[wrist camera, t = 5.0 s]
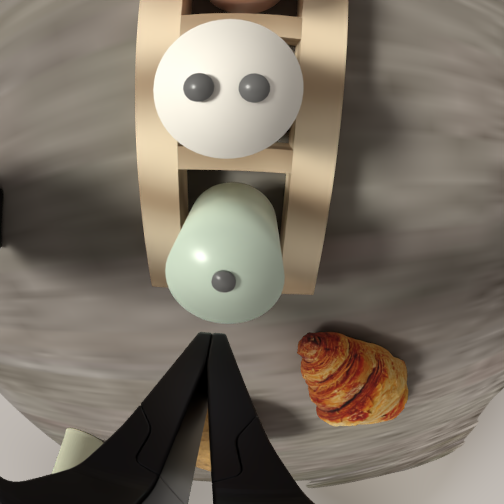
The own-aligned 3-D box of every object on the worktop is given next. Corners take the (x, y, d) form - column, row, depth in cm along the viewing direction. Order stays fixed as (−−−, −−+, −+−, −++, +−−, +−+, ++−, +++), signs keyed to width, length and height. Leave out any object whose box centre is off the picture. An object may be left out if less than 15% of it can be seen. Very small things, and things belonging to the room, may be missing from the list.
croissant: (401, 371, 34) (443, 398, 27) (353, 428, 33) (389, 462, 26) (317, 281, 26) (378, 312, 19) (243, 367, 25) (282, 424, 18)
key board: (308, 274, 22) (313, 294, 20) (160, 267, 22) (152, 286, 20) (336, -64, 9) (346, -79, 7) (164, -67, 9) (154, -82, 7)
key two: (283, 139, 15) (298, 164, 10) (187, 136, 15) (152, 160, 10) (289, 47, 12) (308, 22, 7) (189, 45, 12) (154, 22, 7)
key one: (272, 263, 18) (278, 328, 14) (191, 259, 18) (171, 322, 13) (280, 184, 16) (291, 230, 11) (188, 181, 16) (158, 225, 11)
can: (67, 422, 40) (49, 475, 29) (111, 443, 42) (98, 497, 32) (65, 434, 44) (50, 480, 33) (104, 453, 46) (93, 499, 36)
